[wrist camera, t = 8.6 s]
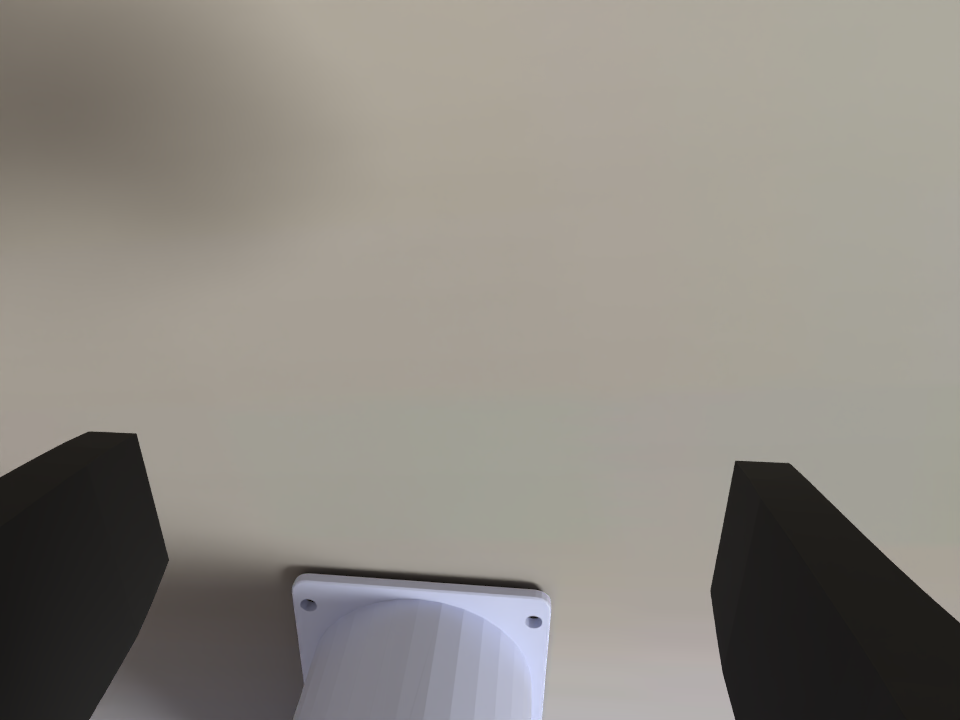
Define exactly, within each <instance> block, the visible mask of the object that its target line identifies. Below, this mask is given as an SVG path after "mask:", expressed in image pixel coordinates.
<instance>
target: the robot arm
mask: <svg viewBox="0 0 960 720" xmlns="http://www.w3.org/2000/svg"><path fill="white" fill-rule="evenodd" d="M168 561H169V558H168V554H167V551H166V547H165V543H164V539H163V535H162V531H161V527H160V523H159V519H158V516H157V512H156V508H155V504H154V500H153V496H152V492H151V488H150V484H149V481H148V477H147V473H146V469H145V465H144V461H143V457H142V453H141V449H140V446H139V442H138V438H137V434H133V433H111V432H87V433H85V434H82V435H80V436H78V437H76V438H74V439H71V440H69V441H67V442H65V443H63V444H61V445H59V446H57V447H55V448H53V449H52V450H50V451H48V452H46V453H44V454H42V455H40V456H38V457H36V458H35V459H33V460H31V461H29V462H27V463H25V464H24V465H22V466H20V467H18V468H16V469H15V470H13V471H11V472H9V473H7V474H6V475H4V476H2V477H0V720H89V719H90V717H91V716H92V714H93V712H94V710H95V709H96V707H97V705H98V704H99V702H100V700H101V699H102V697H103V695H104V693H105V692H106V690H107V688H108V686H109V685H110V683H111V681H112V680H113V678H114V676H115V674H116V673H117V671H118V669H119V667H120V666H121V664H122V662H123V660H124V659H125V657H126V655H127V653H128V652H129V650H130V648H131V646H132V644H133V643H134V641H135V639H136V637H137V635H138V633H139V631H140V629H141V627H142V624H143V622H144V620H145V617H146V615H147V613H148V611H149V608H150V606H151V604H152V602H153V599H154V597H155V594H156V592H157V589H158V586H159V584H160V581H161V579H162V576H163V574H164V571H165V569H166V566H167V564H168ZM292 598H293V605H294V613H295V620H296V628H297V635H298V643H299V651H300V658H301V666H302V673H303V681H304V687H303V690H302V693H301V696H300V699H299V702H298V705H297V708H296V711H295V714H294V717H293V720H542V710H543V699H544V687H545V675H546V664H547V652H548V641H549V629H550V617H551V600H550V597H549V596H548V595H547V594H546V593H544V592H543V591H539V590H533V589H519V588H505V587H491V586H477V585H464V584H450V583H436V582H422V581H408V580H394V579H380V578H366V577H353V576H339V575H325V574H311V573H307V574H301V575H299V576H298V577H297V578H296V579H295V581H294V584H293V586H292ZM306 599H309V600H313V601H314V602H310V601H308V600H306ZM711 599H712V606H713V613H714V620H715V627H716V634H717V640H718V647H719V653H720V659H721V665H722V671H723V675H724V679H725V683H726V687H727V691H728V694H729V698H730V702H731V705H732V709H733V713H734V716H735V720H960V623H959V622H958V621H957V620H956V619H955V618H954V617H952V616H951V615H950V614H949V613H948V612H947V611H946V610H944V609H943V608H942V607H941V606H940V605H939V604H938V603H937V602H935V601H934V600H933V599H932V598H931V597H930V596H929V595H928V594H926V593H925V592H924V591H923V590H922V589H921V588H920V587H919V586H918V585H917V584H915V583H914V582H913V581H912V580H911V579H910V578H909V577H908V576H907V575H906V574H905V573H904V572H902V571H901V570H900V569H899V568H898V567H897V566H896V565H895V564H894V563H893V562H892V561H891V560H890V559H889V558H887V557H886V556H885V555H884V554H883V553H882V552H881V551H880V550H879V549H878V548H877V547H876V546H875V545H874V544H873V543H872V542H871V541H870V540H869V539H868V538H867V537H865V536H864V535H863V534H862V533H861V532H860V531H859V530H858V529H857V528H856V527H855V526H854V525H853V524H852V523H851V522H850V521H849V520H848V519H847V518H846V517H845V516H844V515H843V514H842V513H841V512H840V511H839V510H838V509H837V508H836V507H835V506H834V505H833V504H832V503H831V502H830V501H828V500H827V499H826V498H825V497H824V496H823V495H822V494H821V493H820V492H819V491H818V490H817V489H816V488H815V487H814V486H813V485H812V484H811V483H810V482H809V481H808V480H807V479H806V478H805V477H804V476H803V475H802V474H801V473H800V472H798V471H797V470H796V469H795V468H794V467H793V466H792V465H791V464H790V463H773V462H751V461H735V465H734V471H733V476H732V481H731V486H730V492H729V497H728V502H727V507H726V512H725V518H724V523H723V528H722V533H721V539H720V544H719V549H718V554H717V559H716V565H715V570H714V575H713V580H712V585H711ZM529 616H537V617H539V618H534V619H533V618H530V617H529Z"/></svg>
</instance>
